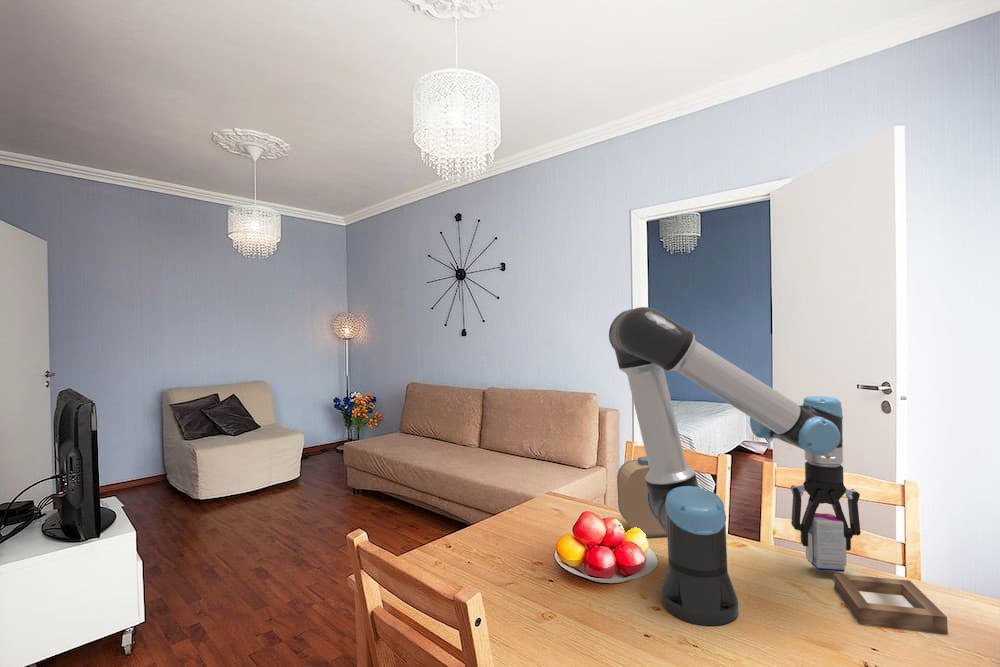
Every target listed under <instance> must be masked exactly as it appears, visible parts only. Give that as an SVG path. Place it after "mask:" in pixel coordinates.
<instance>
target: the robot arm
mask: <svg viewBox="0 0 1000 667" xmlns="http://www.w3.org/2000/svg"><path fill="white" fill-rule="evenodd" d="M608 331H609V332H608V340H609V344H610V345H611V348H613V351H614V352H615V356H616V360H617V365H618V369H619V371H621V372H623V373H625V374H626V376H627V380H628V385H629V388H630V392H631V396H632V401H633V405H634V408H635V409H634V410H635V414H636V417H637V422H638V425H639V430H640V434H641V439H642V443H643V447H644V451H645V456H647V460H648V465H649V469H650V470H649V472H648V473H647V475H646V476H645V479H646V484H647V488H648V492H647V500H648V505H649V508H650V510H651V512H652V514H653V515H654V517H655V518H656V519H657V520H658V521H659V523H660V524H661V526H662V527H663V529H664V530H665V532H666V533H667V536H666V538H667V554H668V555H667V557H668V565H667V569H666V572H665V576H664V579H663V582H662V586H661V592H660V593H661V602H662V606H663V607H664V609H665V610H667V612H669V614H671V615H673V616H674V617H676V618H678V619H680V620H683V621H686V622H688V623H692V624H697V625H703V626H719V625H721V626H723V625H725V624H729V623H731V622H733V621H734V620H735V619H737V617H738V616H739V601H738V600H739V599H738V597H737V593H736V591H735V589H734V586H733V583H732V581H731V577H730V575H729V572H728V551H727V550H728V549H727V548H728V547H727V527H726V524H727V523H726V522H727V512H726V510H725V505H724V502H723V500H722V498H720V496H719V495H718V494H717V493H715V492H713V491H711V490H709V489H707V490H706V489H705V488H702V487H699V483H698V479H696V478H697V475H696V471H695V469H694V468H693V467H691V466H689V465H688V464H687V462H686V459H685V454H684V450H683V446H682V440H681V437H680V436H681V435H680V432H679V428H678V425H677V420H676V416H675V412H674V408H673V403H672V400H671V395H670V390H669V386H668V382H667V378H666V377H667V376H666V374H665V371H666V372H674V371H676V372H677V373H679V374H680V375H682V376H683V377H685V378H687V379H688V380H690V381H692V382H694V383H695V384H697V385H698V386H699V387H700V388H701V387H702V388H703V389H704V390H706V391H708V392H709V393H711V394H712V395H714V396H716V397H717V398H719V399H721V400H723V401H724V402H725V403H727V404H728V405H730V406H731V407H734V408H735V409H737V410H738V411H740V412H742V413H743V414H745V415H747V416H748V417H749V425H750V429H751V431H752V433H753V435H754V436H755V437H757V438H759V439H767V440H770V439H778V440H780V441H782V442H783V443H786V444H789V445H792V446H795V447H796V448H799V449H801V450H803V451H804V460H806V462H804V477H805V479H804V482H803V484H801V485H797V486H796V485H791V486H790V490H791V492H792V493H791V494H792V506H791V526H792V527H793V529H794V530H795V531H799V532H800V544H801V545H802V546H803V547H805V559H806V560H807V561H808V563H811V562H812V563H813V546H812V534H811V532H810V531H809V529H810V526H811V524H812V521H813V518H814V515H815V513H816V512H817V509H818V508H819V506H820V504H823V505H824V504H828V505H830V506H831V507H832V509H833V511H834V512H833V513H834V514H835V515H834V516H835V517H837V518H838V519H839V520H841V521H842V522H843V526H844V561H845V567H847V551H848V552H849V551H851V549H852V543H851V542H852V539H853V537H854V536H861V533H862V532H861V523H860V514H859V506H858V503H859V499H860V497H861V495H860V493H859V492H858V491H857V490H856V489H854V488H851V489H850V488H846V486H845V485H844V481H845V480H844V467H843V466H842V464H843V463H844V454H843V452H844V450H843V449H844V448H843V445H844V444H843V441H844V439H843V438H844V437H843V419H844V417H843V408H842V402H841V401H840V400H839V399H838V398H836V397H832V396H825V395H824V396H823V395H814V396H813V395H811V396H805V397H804V398H803V403H802V405H799V404H797V402H795V401H793V400H792V399H790V398H789V397H787V396H785V395H784V394H782V393H780V392H779V391H777V390H775V389H774V388H772V387H770V386H768V385H767V384H765V383H764V382H762V381H761V380H759V379H758V378H756V377H754V376H753V375H752V374H750V373H748V372H746V371H744V370H743V369H742V368H740V367H738V366H736V365H735V364H733V363H732V362H730V361H728V360H727V359H725V358H724V357H722V356H720V355H718V354H717V353H716V352H715V351H713V350H711V349H709V348H707V347H706V346H704V345H703V344H701V343H700V342H698V341H696V336H695V334H694V333H693V332H691V331H689V330H688V329H686V328H685V327H683V326H682V325H680V324H679V323H677V322H676V321H674V320H673V319H672V318H670V317H669V316H668V315H666V314H664V313H663V312H661V311H659V310H657V309H656V308H652V307H648V306H642V307H641V306H640V307H635V308H631V309H630V308H629V309H628V310H624V311H622V312H621V313H619V314H617V316H616V317H615V318H614V319H613V320H612V322H611V323H610V327H609V329H608ZM804 491H806V493H807V494H808V496H809V498H808V502H807V505H806V508H805V512H804V514H803V517H802V520H801V516H802V514H801V512H802V496H804ZM844 495H845V498H847V507H848V516H849V524H848V522H847V519H846V517H845V514H844V511H843V508H842V505H841V503H840V499H841V498H842V497H843V496H844ZM812 563H811V564H812Z"/></svg>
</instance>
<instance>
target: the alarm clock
mask: <svg viewBox="0 0 1000 667" xmlns="http://www.w3.org/2000/svg"><path fill="white" fill-rule="evenodd" d="M649 470H650V469H649V465H648V460H647V456H646V455H645V456H639V457H637V459H633V460H628V461H625V462H624V463H623V464H621V466H620V467H619V469H618V471H617V476H616V477H617V478H616V480H617V486H616V487H617V505H618V511H619V513H620V515H621V517H622V518H623V519H624V520H625V521H626V523H627V525H629V526H630V528H631V529H633V528H634V527H637V528H640V529H641V530H642V531H643V532H644V533H645V534H646V536H647V537H646V538H657V537H667V533H666V532H665V530H664V529H663V527H662V526H661V524H660V523H659V521H658V520H657V519H656V518H655V517H654V515H653V514H652V512H651V510H650V508H649V505H648V500H647V492H648V488H647V484H646V479H645V476H646V475H647V473H648V472H649ZM696 479H697V477H696ZM697 480H698V479H697Z"/></svg>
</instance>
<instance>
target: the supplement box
mask: <svg viewBox="0 0 1000 667" xmlns="http://www.w3.org/2000/svg"><path fill="white" fill-rule="evenodd" d="M809 531H810V532H811V534H812V546H813V563H812V562H810V564H811V565H812V566H813V567H814V568H815V569H816V570H817V571H820V572H823V571H824V572H837V573H841V572H842V573H844V572H845V571H846V568H845V567H846V566H845V561H844V526H843V522H842V521H841V520H839V519H838V518H837V517H836V515H834V514H832V513H818V512H817V513H816V512H815V515H814V518H813V521H812V524H811V526H810V529H809Z"/></svg>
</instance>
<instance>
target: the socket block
mask: <svg viewBox="0 0 1000 667" xmlns="http://www.w3.org/2000/svg"><path fill="white" fill-rule="evenodd" d="M833 583H834V586H833V587H834V589H835V591H836V593H837V594H838V595H839V598H841V600H842V601H843V603H845V605H846V606H847V608H848V610H849V611H850V613H851V614H852V616H853V617H854V618H855V620H856V621H857V623H858V624H859V625H866V626H874V627H882V628H890V629H899V630H906V631H907V630H908V631H916V632H924V633H932V634H942V635H949V633H948V632H949V631H948V630H949V629H948V616H947V615H946V614H944V613H943V611H942V610H940V609H939V607H938V606H937V605H935V603H933V601H931V600H930V599H929V597H927V596H926V595H925V594H924V593H923V592H922V591H921V590H920V588H918V587H917V586H916V585H915V584H914V583H913V582H912V580H909V579H898V578H887V577H879V576H877V577H875V576H865V575H854V574H844V573H843V574H842V573H833Z"/></svg>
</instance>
